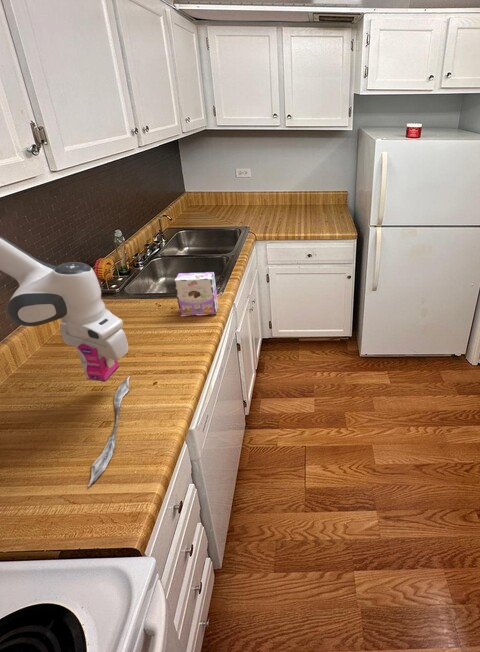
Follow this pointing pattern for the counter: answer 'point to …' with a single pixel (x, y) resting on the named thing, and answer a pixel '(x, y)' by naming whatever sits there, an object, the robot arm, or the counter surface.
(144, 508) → the counter surface
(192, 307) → the candy box
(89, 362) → the supplement box
